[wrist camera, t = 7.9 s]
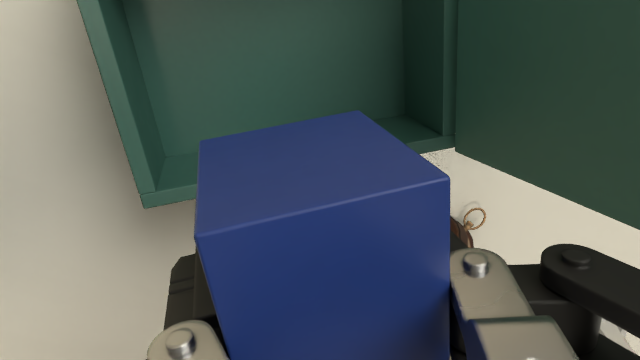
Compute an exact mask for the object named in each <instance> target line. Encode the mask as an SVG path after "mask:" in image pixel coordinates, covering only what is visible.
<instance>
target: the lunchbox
mask: <svg viewBox="0 0 640 360" xmlns="http://www.w3.org/2000/svg"><path fill="white" fill-rule="evenodd" d="M458 2H459V0H77V3H78V6H79V9H80V12H81V15H82V18H83V22H84V25H85V28H86V31H87V34H88V37H89V40H90V43H91V46H92V49H93V53H94V56H95V59H96V62H97V65H98V68H99V71H100V74H101V77H102V80H103V84H104V87H105V90H106V93H107V96H108V99H109V102H110V105H111V108H112V111H113V115H114V118H115V121H116V124H117V127H118V130H119V133H120V136H121V139H122V142H123V146H124V149H125V152H126V155H127V158H128V161H129V164H130V167H131V170H132V174H133V177H134V180H135V183H136V186H137V189H138V192H139V194H140V198H141V201H142V204H143V207H144V209H147V208H152V207H157V206H162V205H167V204H172V203H177V202H182V201H187V200H192V199H196V190H197V173H198V155H199V142H200V141H201V140H206V139H211V138H216V137H221V136H227V135H232V134H237V133H242V132H247V131H253V130H258V129H263V128H268V127H273V126H278V125H284V124H289V123H294V122H299V121H304V120H310V119H315V118H320V117H325V116H330V115H335V114H341V113H346V112H351V111H356V110H358V111H360V112H362V113H363V114H364V115H366V116H367V117H368V118H370V119H371V120H373V121H374V122H375V123H377V124H378V125H379V126H381V127H382V128H384V129H385V130H386V131H388V132H389V133H390V134H392V135H393V136H395V137H396V138H397V139H399V140H400V141H401V142H403V143H404V144H405V145H407V146H408V147H410V148H411V149H412V150H414V151H415V152H416V153H418V154H423V153H428V152H433V151H438V150H443V149H448V148H453V147H455V135H456V134H455V133H456V91H457V46H458Z"/></svg>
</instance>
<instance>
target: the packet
mask: <svg viewBox="0 0 640 360" xmlns="http://www.w3.org/2000/svg"><path fill="white" fill-rule="evenodd" d="M194 240H195V243H196V246H197V250H198V253H199V257H200V260H201V263H202V267H203V270H204V274H205V277H206V280H207V284H208V287H209V291H210V294H211V297H212V301H213V304H214V308H215V311H216V314H217V318H218V321H219V325H220V328H221V331H222V335H223V338H224V342H225V345H226V348H227V352H228V355H229V359H230V360H450V178H449V176H448V175H447V174H445V173H444V172H442V171H441V170H440V169H438V168H437V167H436V166H434V165H433V164H431V163H430V162H429V161H427V160H426V159H425V158H423V157H422V156H421V155H419V154H418V153H416V152H415V151H414V150H412V149H411V148H410V147H408V146H407V145H405V144H404V143H403V142H401V141H400V140H399V139H397V138H396V137H395V136H393V135H392V134H390V133H389V132H388V131H386V130H385V129H384V128H382V127H381V126H379V125H378V124H377V123H375V122H374V121H373V120H371V119H370V118H368V117H367V116H366V115H364V114H363V113H362V112H360V111H358V110H356V111H351V112H346V113H341V114H335V115H330V116H325V117H320V118H315V119H310V120H304V121H299V122H294V123H289V124H284V125H278V126H273V127H268V128H263V129H258V130H253V131H247V132H242V133H237V134H232V135H227V136H221V137H216V138H211V139H206V140H201V141H200V142H199V155H198V173H197V190H196V208H195V226H194Z"/></svg>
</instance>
